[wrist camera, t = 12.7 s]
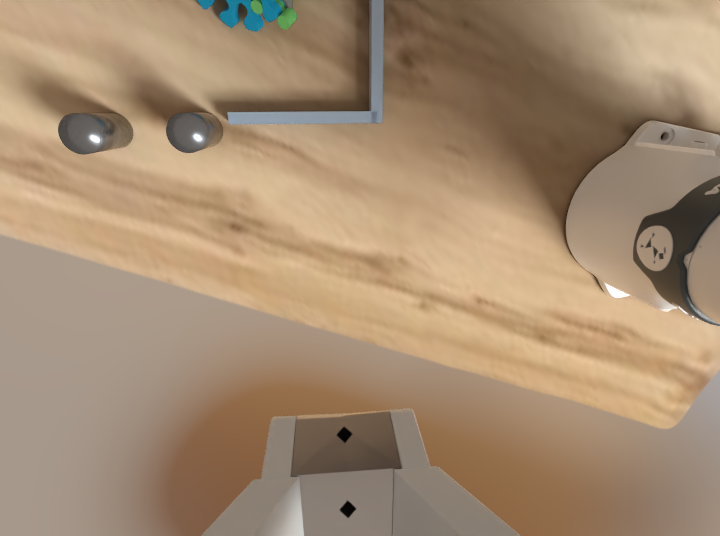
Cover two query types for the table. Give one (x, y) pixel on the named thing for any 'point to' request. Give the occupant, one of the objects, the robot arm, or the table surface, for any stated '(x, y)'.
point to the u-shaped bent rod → (338, 116)
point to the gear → (256, 12)
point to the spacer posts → (116, 131)
